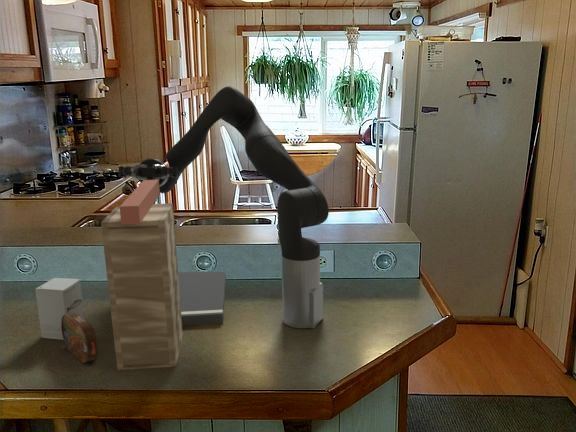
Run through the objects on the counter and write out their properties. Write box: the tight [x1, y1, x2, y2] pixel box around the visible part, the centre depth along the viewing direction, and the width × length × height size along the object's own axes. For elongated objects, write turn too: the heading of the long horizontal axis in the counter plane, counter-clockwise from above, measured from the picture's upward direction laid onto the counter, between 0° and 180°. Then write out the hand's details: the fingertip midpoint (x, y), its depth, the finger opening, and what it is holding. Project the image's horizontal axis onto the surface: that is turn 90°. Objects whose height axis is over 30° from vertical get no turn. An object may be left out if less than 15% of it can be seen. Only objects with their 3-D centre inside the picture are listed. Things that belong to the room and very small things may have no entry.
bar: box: [120, 180, 161, 224], centre depth 111 cm, size 26×4×4 cm, turn 5°
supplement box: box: [34, 277, 86, 341], centre depth 124 cm, size 7×7×13 cm
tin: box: [61, 313, 99, 364], centre depth 115 cm, size 15×3×8 cm, turn 42°
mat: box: [178, 271, 227, 326], centre depth 142 cm, size 30×18×3 cm, turn 5°
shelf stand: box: [100, 202, 184, 371], centre depth 112 cm, size 14×12×32 cm
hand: (145, 170), depth 125 cm, fingers open, 8 cm apart
